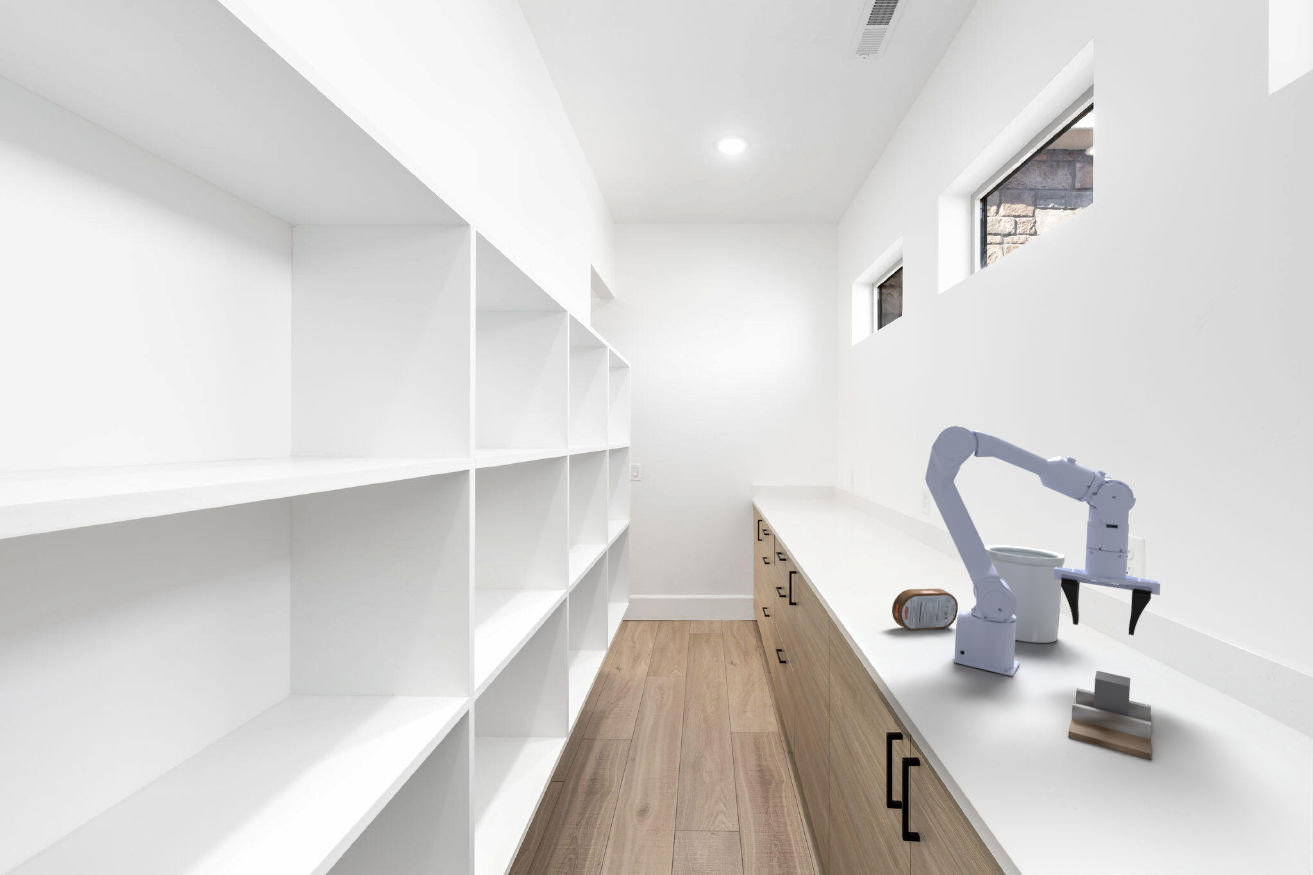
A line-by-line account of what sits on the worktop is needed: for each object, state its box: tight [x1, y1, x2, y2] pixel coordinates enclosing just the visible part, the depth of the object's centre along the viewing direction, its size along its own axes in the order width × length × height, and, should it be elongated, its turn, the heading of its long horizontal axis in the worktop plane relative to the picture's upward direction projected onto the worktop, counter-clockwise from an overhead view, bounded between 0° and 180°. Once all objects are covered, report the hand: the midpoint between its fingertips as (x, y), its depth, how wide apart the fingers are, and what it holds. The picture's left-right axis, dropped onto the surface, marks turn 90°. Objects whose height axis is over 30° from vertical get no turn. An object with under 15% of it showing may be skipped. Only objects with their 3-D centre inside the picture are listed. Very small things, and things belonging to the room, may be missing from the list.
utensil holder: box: [984, 544, 1066, 644], centre depth 132 cm, size 15×15×18 cm
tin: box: [891, 588, 959, 631], centre depth 133 cm, size 15×3×8 cm, turn 105°
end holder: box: [1067, 687, 1153, 761], centre depth 90 cm, size 9×18×3 cm, turn 142°
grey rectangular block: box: [1093, 670, 1131, 716], centre depth 90 cm, size 4×4×6 cm
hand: (1102, 628), depth 106 cm, fingers open, 7 cm apart
